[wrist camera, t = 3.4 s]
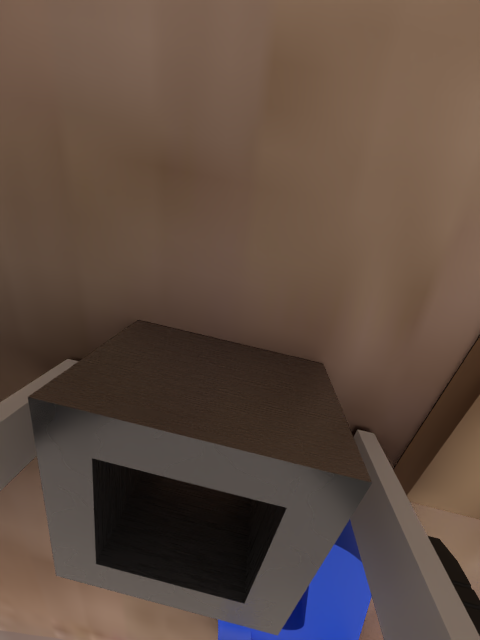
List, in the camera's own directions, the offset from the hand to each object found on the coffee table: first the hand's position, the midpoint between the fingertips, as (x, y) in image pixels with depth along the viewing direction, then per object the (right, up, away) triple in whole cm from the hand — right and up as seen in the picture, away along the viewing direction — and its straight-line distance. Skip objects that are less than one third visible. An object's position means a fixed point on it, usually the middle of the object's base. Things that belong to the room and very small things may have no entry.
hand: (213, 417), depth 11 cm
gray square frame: (0, 0, 0) cm, 0 cm away
